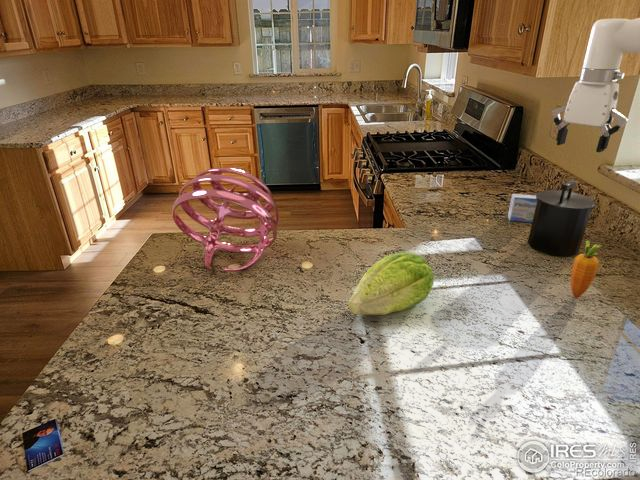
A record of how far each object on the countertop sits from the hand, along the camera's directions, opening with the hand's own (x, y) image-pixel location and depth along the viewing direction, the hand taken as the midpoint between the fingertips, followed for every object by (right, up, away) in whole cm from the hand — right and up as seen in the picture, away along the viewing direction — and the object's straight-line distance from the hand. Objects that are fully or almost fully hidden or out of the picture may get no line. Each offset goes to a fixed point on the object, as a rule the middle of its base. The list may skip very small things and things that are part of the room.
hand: (579, 147), depth 109 cm
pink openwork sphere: (-91, -29, +13) cm, 96 cm away
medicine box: (+2, -17, +36) cm, 40 cm away
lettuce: (-51, -40, -9) cm, 65 cm away
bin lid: (+3, -13, +12) cm, 17 cm away
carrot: (-5, -38, -7) cm, 39 cm away
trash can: (+3, -26, +18) cm, 31 cm away
